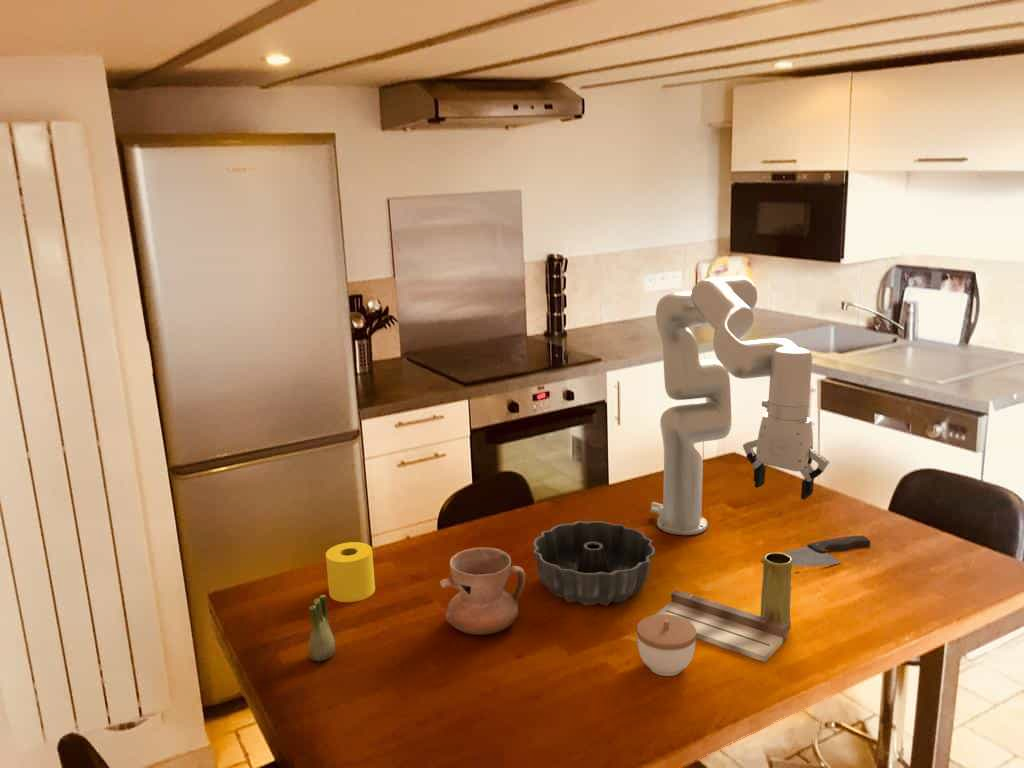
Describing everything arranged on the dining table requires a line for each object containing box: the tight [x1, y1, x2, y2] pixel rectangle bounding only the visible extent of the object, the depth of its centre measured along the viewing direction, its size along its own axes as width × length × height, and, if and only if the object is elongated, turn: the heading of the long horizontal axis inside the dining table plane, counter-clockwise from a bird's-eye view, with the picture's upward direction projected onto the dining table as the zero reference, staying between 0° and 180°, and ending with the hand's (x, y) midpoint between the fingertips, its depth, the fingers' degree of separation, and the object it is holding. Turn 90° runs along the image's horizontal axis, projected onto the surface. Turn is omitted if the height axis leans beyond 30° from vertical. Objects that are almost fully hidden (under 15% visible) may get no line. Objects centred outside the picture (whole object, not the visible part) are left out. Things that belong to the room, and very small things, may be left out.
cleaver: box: [761, 535, 871, 567], centre depth 200 cm, size 29×10×2 cm, turn 112°
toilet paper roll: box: [325, 541, 376, 603], centre depth 190 cm, size 10×10×9 cm
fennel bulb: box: [308, 594, 336, 662], centre depth 164 cm, size 6×5×12 cm
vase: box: [759, 552, 792, 630], centre depth 170 cm, size 6×6×14 cm
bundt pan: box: [533, 520, 656, 607], centre depth 188 cm, size 26×26×10 cm
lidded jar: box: [636, 614, 697, 677], centre depth 157 cm, size 11×11×9 cm
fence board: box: [654, 589, 788, 663], centre depth 170 cm, size 24×10×3 cm, turn 51°
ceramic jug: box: [439, 546, 526, 636], centre depth 174 cm, size 18×14×14 cm
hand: (782, 491), depth 173 cm, fingers open, 9 cm apart
